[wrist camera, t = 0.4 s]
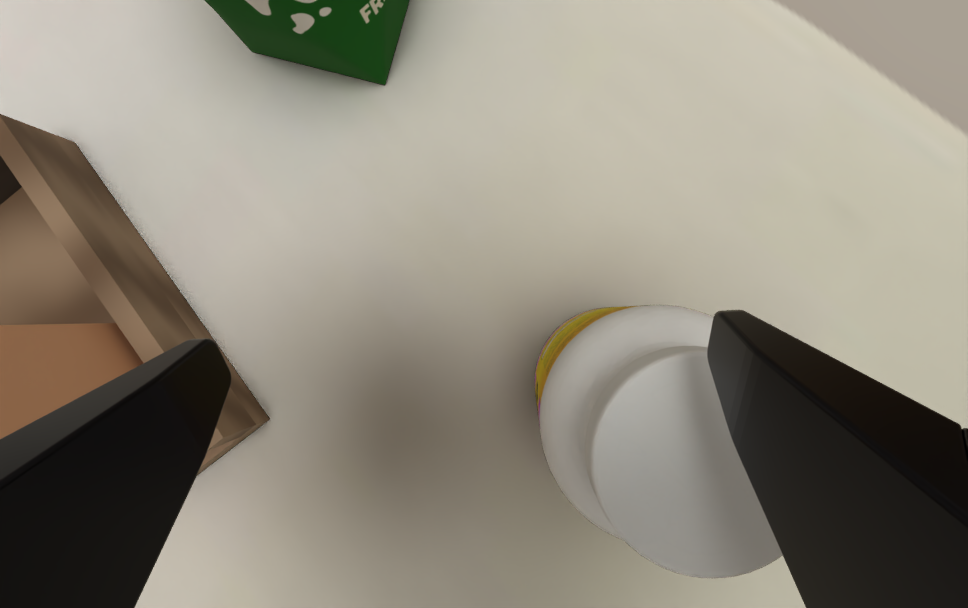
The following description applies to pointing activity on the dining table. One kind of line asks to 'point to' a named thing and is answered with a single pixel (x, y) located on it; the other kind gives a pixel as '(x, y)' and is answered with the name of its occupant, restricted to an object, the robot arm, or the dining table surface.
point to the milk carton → (320, 32)
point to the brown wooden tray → (92, 264)
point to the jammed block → (56, 367)
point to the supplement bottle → (649, 440)
